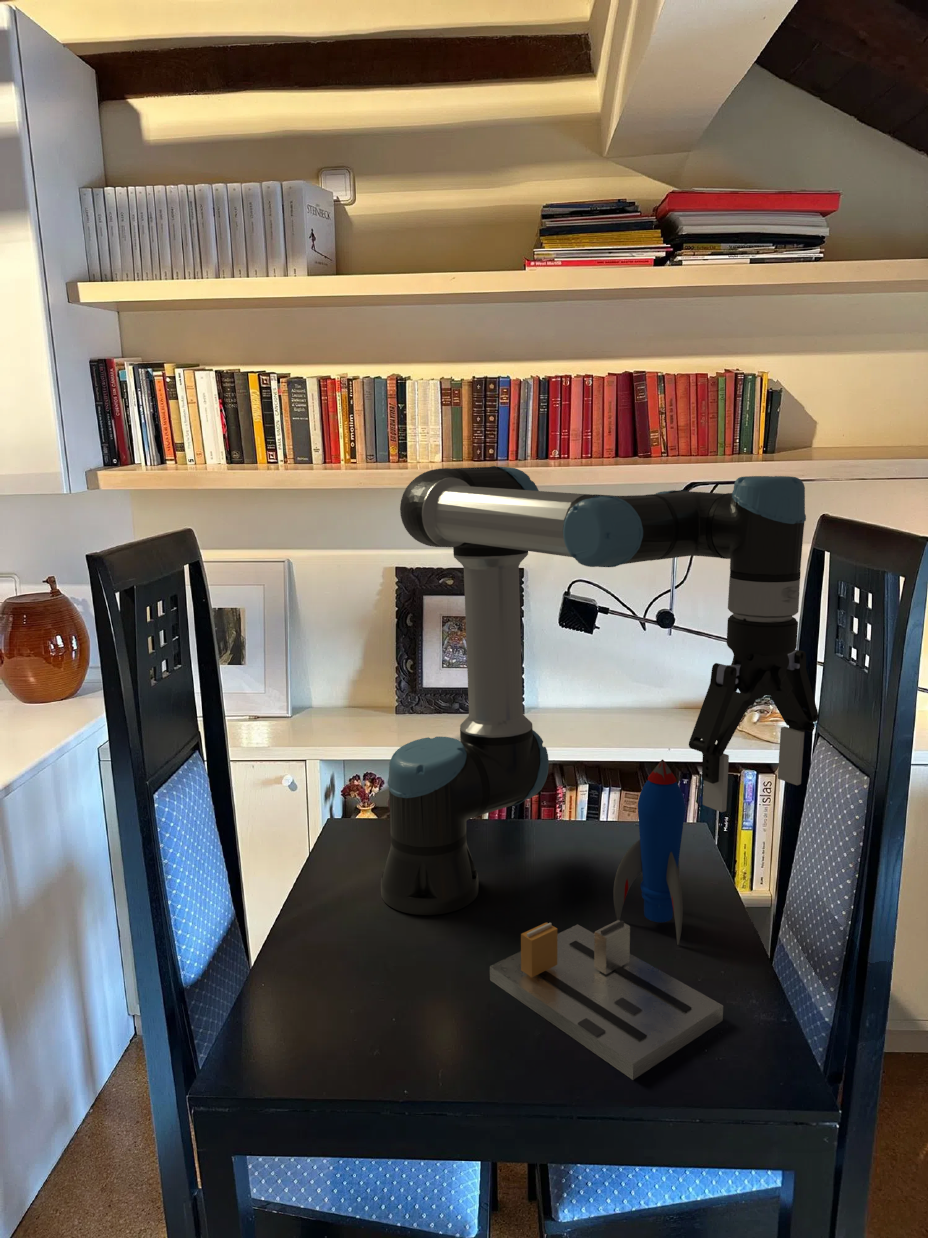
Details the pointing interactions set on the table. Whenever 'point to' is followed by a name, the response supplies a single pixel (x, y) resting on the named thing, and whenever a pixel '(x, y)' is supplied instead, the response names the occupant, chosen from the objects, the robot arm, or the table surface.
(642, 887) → the toy rocket
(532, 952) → the fader
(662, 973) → the console
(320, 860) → the table surface
